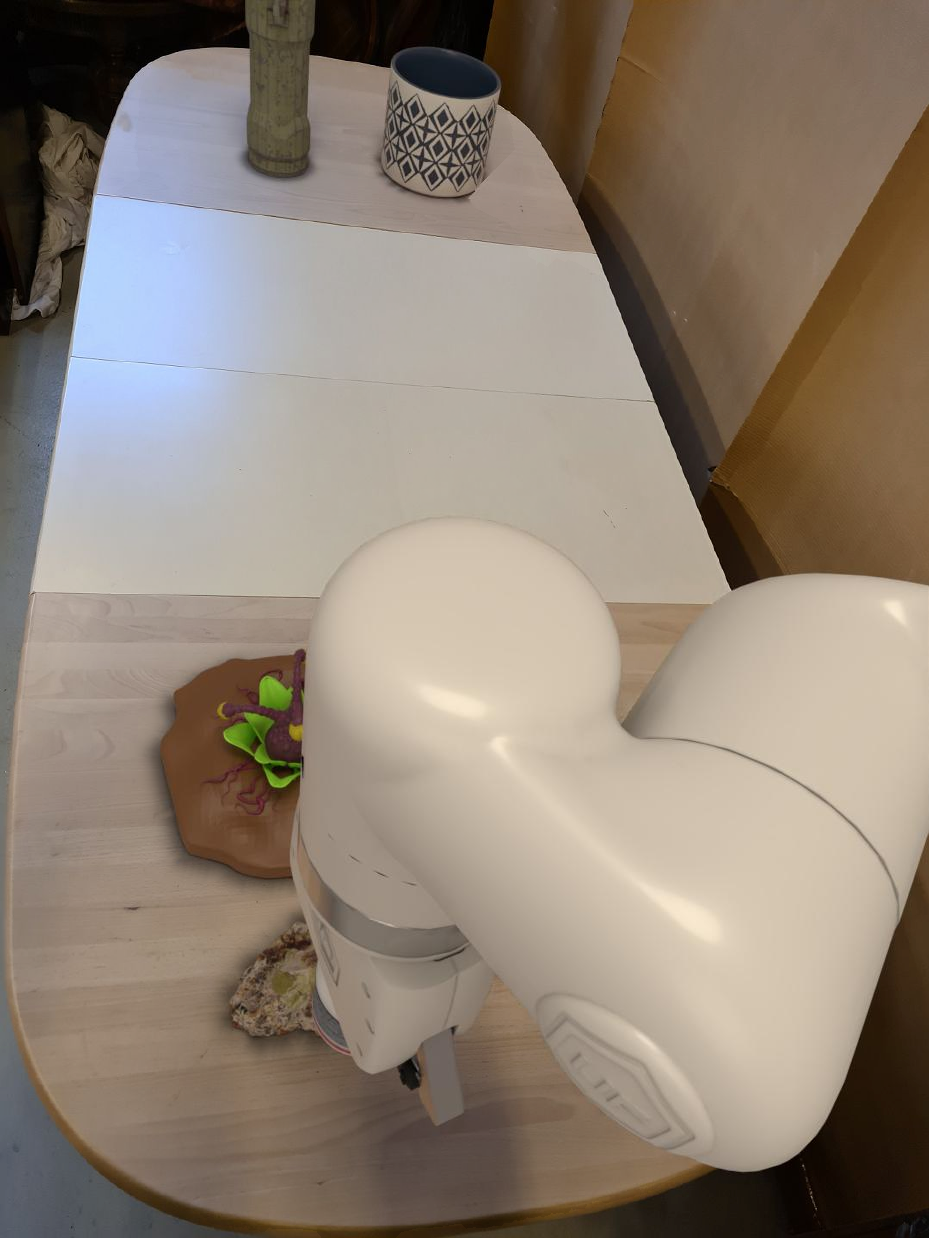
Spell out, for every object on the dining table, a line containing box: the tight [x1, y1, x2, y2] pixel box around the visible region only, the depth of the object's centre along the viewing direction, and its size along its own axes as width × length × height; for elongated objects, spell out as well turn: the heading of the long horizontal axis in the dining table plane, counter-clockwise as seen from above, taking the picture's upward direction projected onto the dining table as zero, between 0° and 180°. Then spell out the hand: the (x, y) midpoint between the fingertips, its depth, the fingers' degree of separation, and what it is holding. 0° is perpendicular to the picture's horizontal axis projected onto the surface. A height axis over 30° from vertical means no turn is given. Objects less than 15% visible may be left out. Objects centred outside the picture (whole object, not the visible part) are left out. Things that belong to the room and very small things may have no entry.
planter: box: [380, 46, 502, 198], centre depth 131 cm, size 16×16×14 cm
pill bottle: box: [311, 960, 352, 1057], centre depth 43 cm, size 5×5×9 cm
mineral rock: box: [229, 920, 321, 1038], centre depth 63 cm, size 11×4×8 cm
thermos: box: [244, 0, 316, 179], centre depth 116 cm, size 9×12×35 cm
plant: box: [159, 647, 307, 879], centre depth 69 cm, size 20×20×11 cm
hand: (368, 982), depth 43 cm, fingers closed on pill bottle, 5 cm apart
